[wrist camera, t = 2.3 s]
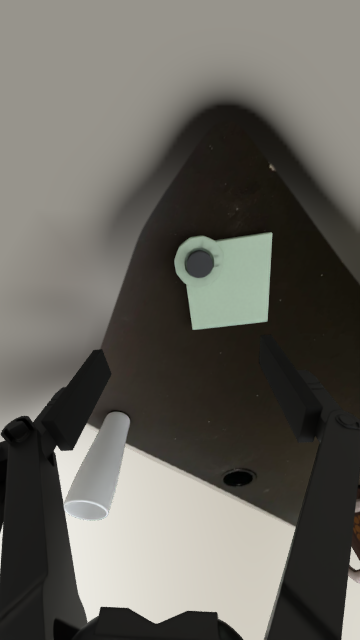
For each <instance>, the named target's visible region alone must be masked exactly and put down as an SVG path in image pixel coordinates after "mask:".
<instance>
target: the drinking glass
mask: <svg viewBox="0 0 360 640" xmlns="http://www.w3.org/2000/svg"><path fill="white" fill-rule="evenodd" d="M129 426H130V419H129V417H128V416H127V415H126V414H124V413H122V412H111V413H109V414H108V415H107V416H106V417H105V420H104V422H103V424H102V426H101V428H100V430H99V432H98V434H97V436H96V438H95V440H94V442H93V444H92V445H91V448H90V449H89V451H88V453H87V455H86V457H85V459H84V461H83V462H82V464H81V466H80V468H79V470H78V472H77V474H76V477H75V479H74V481H73V483H72V485H71V488H70V490H69V492H68V495H67V497H66V500H65V502H64V511H65V512H66V513H68V514H69V515H71V516H73V517H75V518H79V519H83V520H90V521H95V520H101V519H104V518H106V517H107V516H108V513H109V510H110V507H111V503H112V500H113V497H114V493H115V490H116V486H117V482H118V477H119V473H120V467H121V462H122V458H123V453H124V448H125V443H126V438H127V433H128V429H129Z"/></svg>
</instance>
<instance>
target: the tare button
mask: <svg viewBox="0 0 360 640" xmlns="http://www.w3.org/2000/svg"><path fill="white" fill-rule="evenodd" d="M212 267H213V262H212V259H211V257H210V255H209V254H208V253H207V252H205V251H203V250H196V251H194V252H192V253H191V254H190V255H189V257H188V259H187V270H188V272H189V274H190V275H192V276H193V277H195V278H203V277H206V276H207V275H208V274H209V273H210V272H211V270H212Z"/></svg>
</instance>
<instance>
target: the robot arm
mask: <svg viewBox="0 0 360 640" xmlns="http://www.w3.org/2000/svg"><path fill="white" fill-rule="evenodd" d="M259 364H260V366H261V368H262V370H263V372H264V374H265V376H266V378H267V380H268V382H269V384H270V386H271V388H272V390H273V392H274V394H275V396H276V398H277V400H278V402H279V404H280V406H281V408H282V410H283V413H284V415H285V417H286V419H287V421H288V423H289V425H290V427H291V429H292V431H293V433H294V435H295V437H296V439H297V441H298V442H313V441H314V437H315V436H316V437H317V439H318V441H319V442H320V444H319V447H318V450H317V453H316V458H315V461H314V465H313V469H312V472H311V476H310V479H309V483H308V486H307V490H306V493H305V497H304V500H303V504H302V508H301V511H300V515H299V518H298V522H297V525H296V529H295V532H294V536H293V539H292V543H291V547H290V550H289V554H288V557H287V561H286V564H285V568H284V571H283V575H282V579H281V582H280V585H279V589H278V593H277V596H276V600H275V603H274V606H273V610H272V613H271V617H270V620H269V623H268V627H267V631H266V634H265V638H264V640H341V636H342V625H343V617H344V607H345V598H346V589H347V580H348V571H349V562H350V553H351V544H352V535H353V526H354V517H355V508H356V499H357V490H358V481H359V472H360V420H359V419H358V418H357V417H355V416H354V415H352V414H350V413H349V412H346V411H343V410H342V409H341V407H340V406H339V405H338V404H337V402H336V401H335V400H334V399H333V398H332V396H331V395H330V394H329V393H328V391H327V390H326V389H325V388H324V387H323V385H322V384H320V382H319V380H318V379H317V378H316V377H315V376H314V375H313V374H311V373H310V372H309V371H307V370H301V371H297V370H296V369H295V367H294V366H293V364H292V363H291V362H290V360H289V359H288V358H287V356H286V355H285V353H284V352H283V351H282V349H281V348H280V346H279V345H278V344H277V342H276V341H275V340H274V338H273V337H272V335H261V341H260V356H259ZM110 376H111V371H110V369H109V366H108V364H107V361H106V358H105V356H104V353H103V350H102V349H101V350H93V352H92V353H91V355H90V356H89V357H88V358H87V360H86V361H85V362H84V364H83V365H82V367H81V368H80V369H79V370H78V372H77V373H76V375H75V376H74V377H73V379H72V380H71V381H70V383H69V384H68V385H67V387H63V388H61V389H60V390H59V391H58V392H57V393H56V394H55V395H54V396H53V397H52V399H51V401H49V403H48V404H47V406H45V408H44V409H43V410H42V412H41V413H40V414H39V415H38V417H37V418H36V419H35V420H34V422H32V421H31V419H30V418H29V417H28V416H21V417H19V418H16V419H14V420H13V421H11V422H10V423H9V424H7V425H6V426H5V428H4V429H3V430H2V432H1V436H2V437H3V438H4V439H5V440H6V441H3V442H0V532H1V529H2V525H3V538H2V554H1V569H0V640H243V639H242V637H241V636H240V635H239V634H238V633H237V632H236V631H235V630H234V629H233V628H231V627H230V626H229V625H228V624H227V623H225V622H223V621H221V620H220V619H218V614H217V612H199V611H186V612H184V613H182V614H179V615H177V616H175V617H172V618H170V619H168V620H165V621H163V622H161V623H158V624H155V623H153V622H151V621H149V620H147V619H146V618H144V617H142V616H141V615H139V614H137V613H135V612H133V611H132V610H130V609H129V608H115V607H101V608H100V613H99V616H97V617H96V618H94V619H93V620H91V621H90V622H88V623H87V618H86V614H85V610H84V607H83V605H82V603H81V600H80V598H79V595H78V590H77V585H76V579H75V573H74V566H73V560H72V555H71V548H70V543H69V536H68V529H67V523H66V518H65V511H64V505H63V499H62V492H61V486H60V480H59V474H58V468H57V462H56V455H55V453H54V449H55V447H56V446H58V447H59V449H60V450H61V451H67V450H73V448H74V446H75V444H76V443H77V441H78V438H79V437H80V435H81V433H82V431H83V429H84V427H85V425H86V423H87V421H88V419H89V417H90V415H91V413H92V411H93V409H94V407H95V405H96V403H97V401H98V399H99V397H100V396H101V394H102V392H103V390H104V388H105V386H106V384H107V382H108V380H109V378H110ZM3 522H4V523H3Z"/></svg>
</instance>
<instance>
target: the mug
mask: <svg viewBox="0 0 360 640" xmlns="http://www.w3.org/2000/svg"><path fill="white" fill-rule="evenodd" d="M351 547H352V548H353V550H354V552H355V553H356V555H357V557H358V558H359V560H360V487H358V490H357V499H356V508H355V517H354V526H353V535H352V544H351ZM348 576H349V577H350V578H352V579H353V580H355V581H356V582H357V583H360V569H359V570H355V569H353V568H352V567H351V566H350V565H349V571H348Z"/></svg>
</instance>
